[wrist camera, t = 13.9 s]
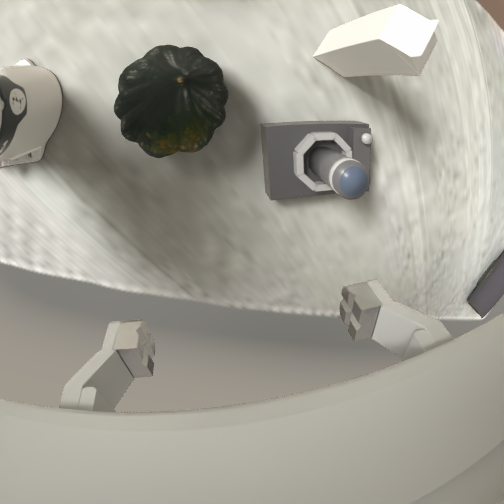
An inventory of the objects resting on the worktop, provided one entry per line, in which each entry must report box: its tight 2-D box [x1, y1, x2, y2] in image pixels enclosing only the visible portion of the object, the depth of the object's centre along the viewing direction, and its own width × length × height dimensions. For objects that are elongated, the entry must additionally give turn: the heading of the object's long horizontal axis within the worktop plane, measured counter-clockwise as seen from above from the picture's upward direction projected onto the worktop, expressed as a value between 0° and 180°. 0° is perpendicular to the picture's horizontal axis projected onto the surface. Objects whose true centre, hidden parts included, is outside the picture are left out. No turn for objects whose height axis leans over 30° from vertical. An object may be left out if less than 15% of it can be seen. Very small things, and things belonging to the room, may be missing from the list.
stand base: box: [260, 121, 372, 200], centre depth 40 cm, size 16×11×6 cm
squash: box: [114, 45, 228, 158], centre depth 31 cm, size 14×15×15 cm
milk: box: [313, 4, 439, 77], centre depth 25 cm, size 6×6×22 cm
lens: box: [308, 146, 370, 200], centre depth 35 cm, size 5×5×10 cm
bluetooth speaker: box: [467, 252, 504, 318], centre depth 63 cm, size 23×9×10 cm, turn 145°
